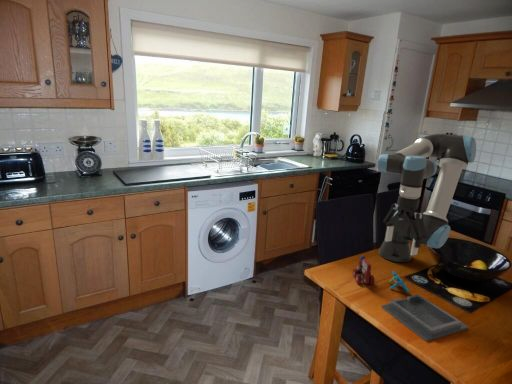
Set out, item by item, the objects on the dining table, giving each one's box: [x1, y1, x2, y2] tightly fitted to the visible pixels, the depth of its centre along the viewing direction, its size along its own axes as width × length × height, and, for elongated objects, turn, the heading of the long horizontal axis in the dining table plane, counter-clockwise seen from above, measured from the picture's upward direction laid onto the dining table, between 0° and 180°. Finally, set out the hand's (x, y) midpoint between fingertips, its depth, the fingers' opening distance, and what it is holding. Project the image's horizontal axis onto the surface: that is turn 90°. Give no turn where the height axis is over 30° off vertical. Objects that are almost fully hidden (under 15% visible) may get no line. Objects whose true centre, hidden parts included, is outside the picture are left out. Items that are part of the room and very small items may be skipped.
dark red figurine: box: [352, 255, 375, 286], centre depth 145 cm, size 7×12×10 cm, turn 178°
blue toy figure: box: [388, 270, 411, 294], centre depth 140 cm, size 11×6×10 cm
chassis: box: [381, 293, 469, 342], centre depth 121 cm, size 20×20×3 cm
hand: (400, 247), depth 135 cm, fingers open, 13 cm apart
